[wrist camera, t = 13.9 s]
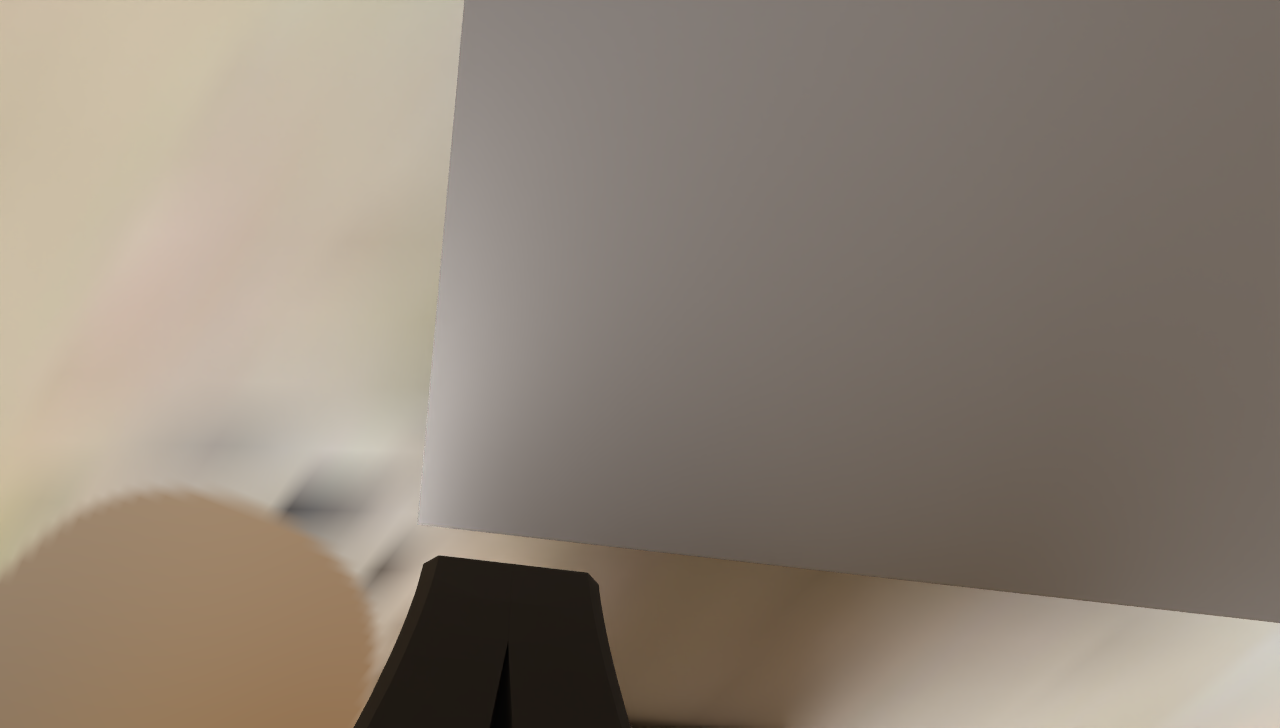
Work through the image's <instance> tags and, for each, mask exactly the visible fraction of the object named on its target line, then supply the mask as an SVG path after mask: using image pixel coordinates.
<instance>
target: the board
mask: <svg viewBox="0 0 1280 728" xmlns="http://www.w3.org/2000/svg"><path fill="white" fill-rule="evenodd" d="M417 524H418V525H426V526H435V527H444V528H453V529H461V530H470V531H479V532H488V533H497V534H505V535H514V536H523V537H532V538H540V539H549V540H558V541H567V542H575V543H584V544H593V545H602V546H610V547H619V548H628V549H637V550H645V551H654V552H663V553H672V554H680V555H689V556H698V557H707V558H716V559H724V560H733V561H742V562H751V563H759V564H768V565H777V566H786V567H794V568H803V569H812V570H821V571H829V572H838V573H847V574H856V575H864V576H873V577H882V578H891V579H899V580H908V581H917V582H926V583H935V584H943V585H952V586H961V587H970V588H978V589H987V590H996V591H1005V592H1013V593H1022V594H1031V595H1040V596H1048V597H1057V598H1066V599H1075V600H1083V601H1092V602H1101V603H1110V604H1118V605H1127V606H1136V607H1145V608H1153V609H1162V610H1171V611H1180V612H1189V613H1197V614H1206V615H1215V616H1224V617H1232V618H1241V619H1250V620H1259V621H1267V622H1276V623H1280V0H464V11H463V22H462V33H461V45H460V56H459V67H458V78H457V89H456V100H455V111H454V122H453V134H452V145H451V156H450V167H449V178H448V189H447V200H446V211H445V223H444V234H443V245H442V256H441V267H440V278H439V289H438V300H437V311H436V323H435V334H434V345H433V356H432V367H431V378H430V389H429V400H428V412H427V423H426V434H425V445H424V456H423V467H422V478H421V489H420V501H419V512H418V523H417Z"/></svg>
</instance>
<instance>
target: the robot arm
mask: <svg viewBox="0 0 1280 728" xmlns="http://www.w3.org/2000/svg"><path fill="white" fill-rule="evenodd" d="M354 728H631V727H630V723H629V720H628V716H627V713H626V709H625V706H624V702H623V698H622V695H621V691H620V688H619V684H618V680H617V677H616V672H615V668H614V664H613V660H612V656H611V652H610V647H609V643H608V638H607V634H606V629H605V623H604V618H603V613H602V607H601V600H600V593H599V585H598V583H597V582H596V581H595V580H594V579H593V578H592V577H591V576H590V575H589V574H588V573H585V572H576V571H568V570H559V569H550V568H542V567H533V566H525V565H516V564H514V565H513V564H508V563H499V562H490V561H482V560H473V559H465V558H456V557H448V556H437V557H435V558H433V559H432V560H430V561H428V562H426V563H424V564H423V568H422V571H421V575H420V579H419V582H418V586H417V589H416V592H415V595H414V598H413V601H412V603H411V606H410V609H409V612H408V614H407V617H406V619H405V622H404V624H403V627H402V629H401V632H400V634H399V636H398V639H397V641H396V643H395V646H394V648H393V650H392V652H391V655H390V657H389V659H388V661H387V663H386V665H385V667H384V669H383V671H382V673H381V675H380V677H379V680H378V682H377V684H376V686H375V688H374V690H373V692H372V694H371V696H370V698H369V700H368V702H367V704H366V706H365V708H364V709H363V711H362V713H361V715H360V717H359V719H358V720H357V722H356V724H355V726H354Z"/></svg>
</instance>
